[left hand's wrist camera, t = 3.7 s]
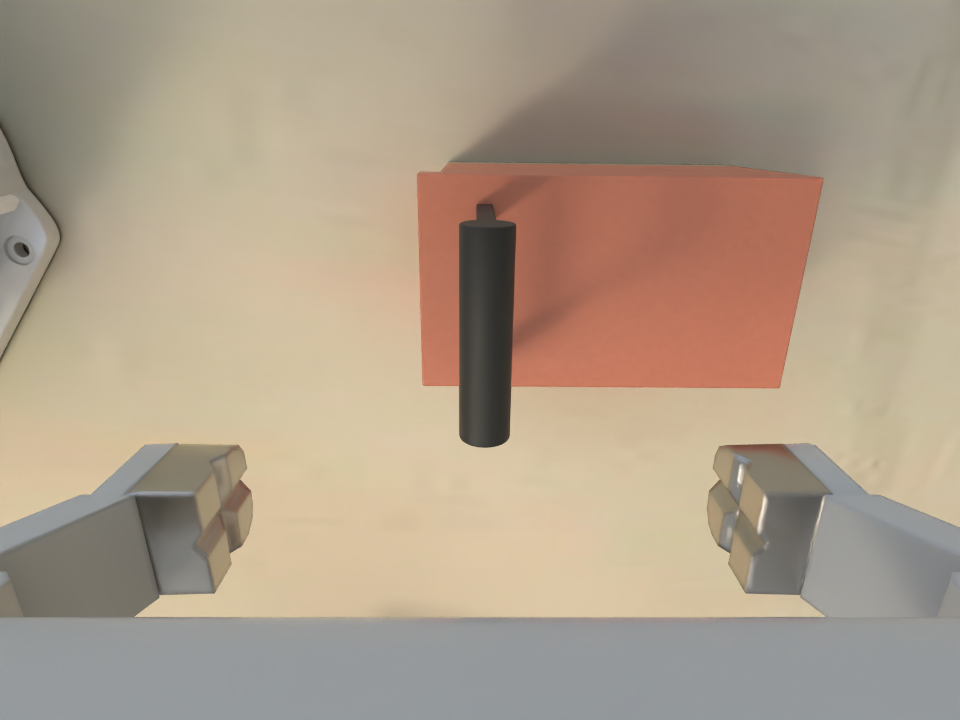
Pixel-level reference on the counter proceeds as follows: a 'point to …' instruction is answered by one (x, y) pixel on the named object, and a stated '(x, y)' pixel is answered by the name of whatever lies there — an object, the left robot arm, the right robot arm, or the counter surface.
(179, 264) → the counter surface
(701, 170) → the chest
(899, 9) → the counter surface
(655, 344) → the lid
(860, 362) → the counter surface
